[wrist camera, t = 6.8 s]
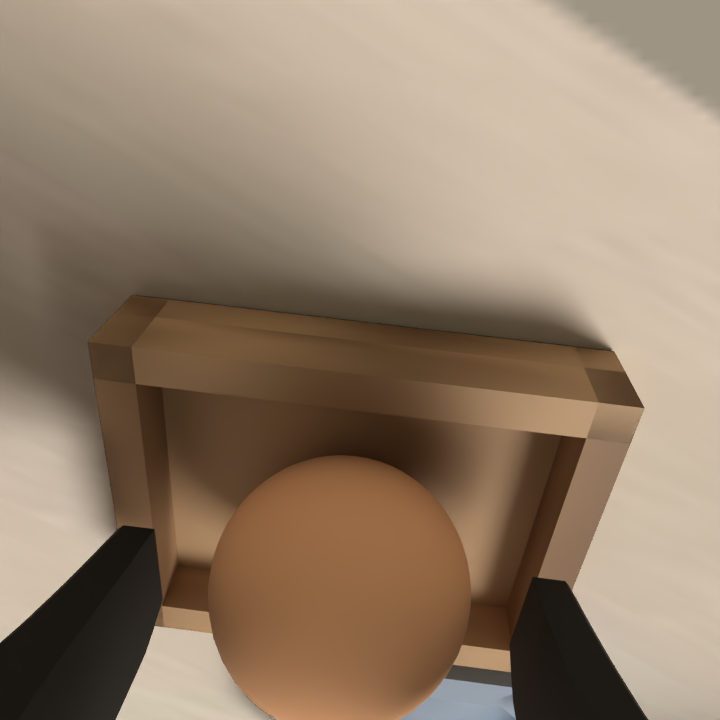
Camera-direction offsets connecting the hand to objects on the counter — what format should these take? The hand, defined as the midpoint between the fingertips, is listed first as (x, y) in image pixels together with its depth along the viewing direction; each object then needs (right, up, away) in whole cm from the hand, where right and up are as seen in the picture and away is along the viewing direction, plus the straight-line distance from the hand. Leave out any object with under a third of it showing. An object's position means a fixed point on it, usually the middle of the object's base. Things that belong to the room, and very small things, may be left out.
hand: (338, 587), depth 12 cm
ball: (0, +1, +2) cm, 3 cm away
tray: (0, +2, +3) cm, 3 cm away
